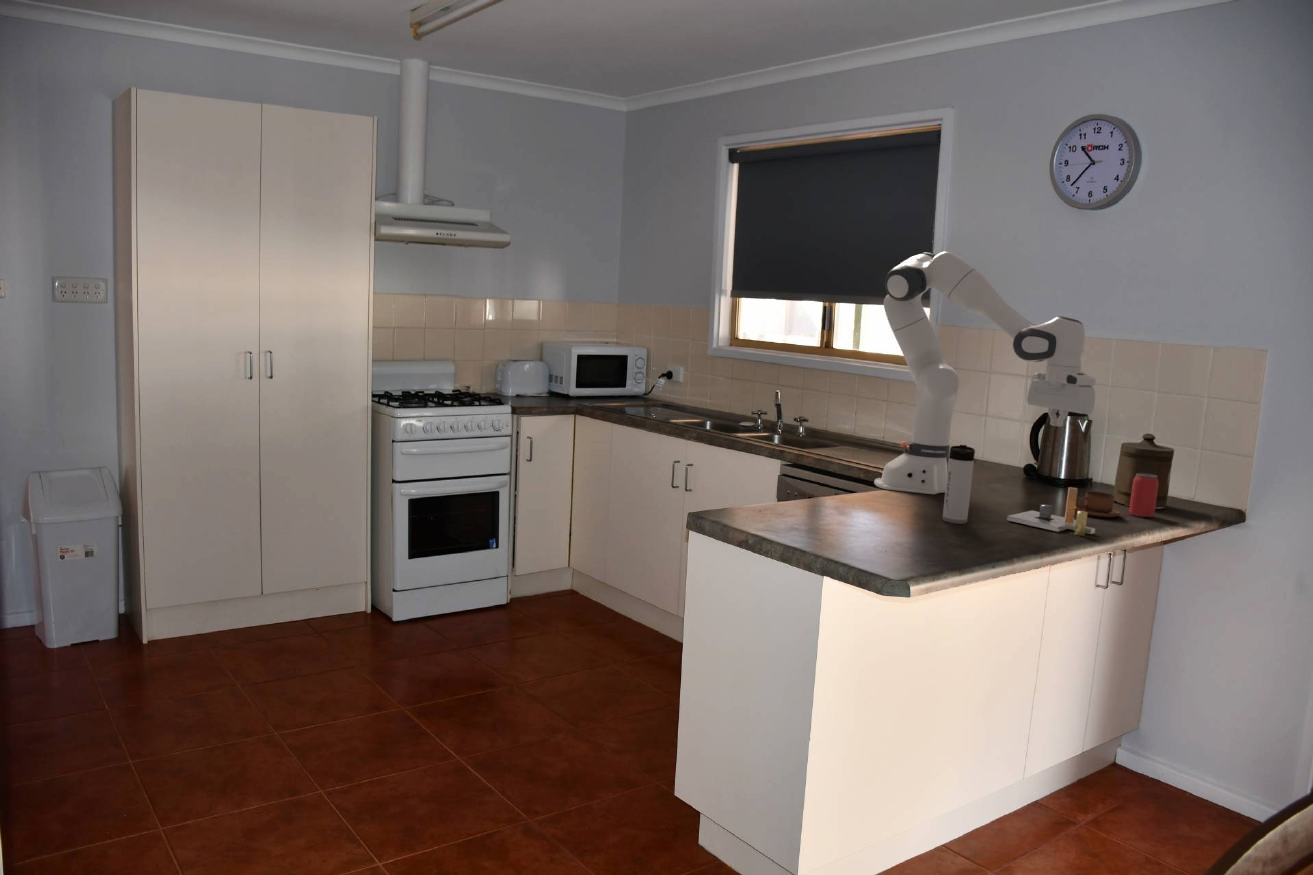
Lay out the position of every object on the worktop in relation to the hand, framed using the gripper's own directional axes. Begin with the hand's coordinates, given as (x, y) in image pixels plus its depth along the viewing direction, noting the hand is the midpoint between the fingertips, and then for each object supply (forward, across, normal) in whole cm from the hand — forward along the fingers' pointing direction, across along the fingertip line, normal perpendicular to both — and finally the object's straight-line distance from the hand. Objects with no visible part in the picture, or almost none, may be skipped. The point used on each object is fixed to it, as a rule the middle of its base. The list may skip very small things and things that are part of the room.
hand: (1056, 425), depth 274 cm
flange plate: (+25, +12, -10) cm, 30 cm away
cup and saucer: (+26, +4, +16) cm, 31 cm away
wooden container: (+25, -4, +45) cm, 52 cm away
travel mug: (+25, +2, -36) cm, 44 cm away
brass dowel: (+25, +21, -12) cm, 35 cm away
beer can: (+25, +8, +30) cm, 40 cm away
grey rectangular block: (+25, +10, -11) cm, 29 cm away
